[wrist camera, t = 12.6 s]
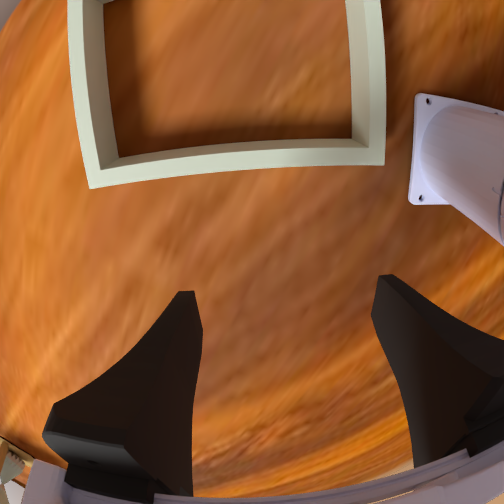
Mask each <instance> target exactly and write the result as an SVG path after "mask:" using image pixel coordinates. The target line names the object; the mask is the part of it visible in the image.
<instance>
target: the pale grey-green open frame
mask: <svg viewBox="0 0 504 504" xmlns="http://www.w3.org/2000/svg"><path fill="white" fill-rule="evenodd" d="M111 1H114V0H68V44H69V60H70V73H71V83H72V92H73V100H74V108H75V115H76V121H77V128H78V134H79V140H80V145H81V150H82V156H83V161H84V166H85V170H86V175H87V179H88V184H89V188H90V189H94V188H100V187H105V186H111V185H118V184H124V183H131V182H137V181H144V180H151V179H159V178H167V177H175V176H183V175H192V174H202V173H212V172H222V171H234V170H247V169H261V168H278V167H299V166H331V165H384V161H385V140H386V68H385V48H384V34H383V23H382V13H381V4H380V0H345V3H346V12H347V23H348V35H349V49H350V67H351V95H352V139H288V140H267V141H251V142H238V143H226V144H216V145H206V146H197V147H188V148H181V149H173V150H166V151H159V152H152V153H146V154H140V155H134V156H128V157H122V158H119V156H118V150H117V144H116V138H115V132H114V125H113V118H112V111H111V103H110V95H109V87H108V77H107V67H106V54H105V40H104V18H103V4H105V3H108V2H111Z"/></svg>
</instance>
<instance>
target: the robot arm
mask: <svg viewBox="0 0 504 504" xmlns="http://www.w3.org/2000/svg"><path fill="white" fill-rule="evenodd" d="M427 98H428V99H429V104H427V103H426V99H427ZM420 195H422V198H421V199H420V200H419V197H420ZM408 200H409V201H410V202H411V203H412V204H414V205H424V204H451V205H452V206H454V207H455V208H456V209H458V210H459V211H460V212H462V213H463V214H464V215H466V216H467V217H468V218H470V219H471V220H472V221H474V222H475V223H476V224H477V225H479V226H480V227H481V228H482V229H484V230H485V231H486V232H487V233H488V234H490V235H491V236H492V237H493V238H494V239H496V240H497V241H498V242H499V243H500V244H502V245H503V246H504V111H501V110H497V109H494V108H490V107H486V106H482V105H478V104H474V103H470V102H465V101H461V100H456V99H451V98H446V97H441V96H436V95H430V94H424V93H418V94H416V96H415V102H414V135H413V152H412V165H411V176H410V186H409V194H408ZM371 317H372V320H373V324H374V327H375V330H376V334H377V336H378V339H379V341H380V343H381V346H382V348H383V350H384V352H385V355H386V357H387V359H388V361H389V363H390V366H391V368H392V370H393V373H394V375H395V377H396V380H397V383H398V385H399V388H400V392H401V396H402V399H403V403H404V407H405V411H406V416H407V420H408V425H409V431H410V437H411V443H412V452H413V462H414V469H411V470H408V471H405V472H402V473H398V474H395V475H391V476H388V477H384V478H380V479H377V480H373V481H369V482H364V483H360V484H356V485H351V486H346V487H341V488H336V489H330V490H324V491H318V492H311V493H303V494H295V495H285V496H273V497H256V498H203V497H193V482H192V414H193V402H194V395H195V389H196V383H197V378H198V372H199V366H200V360H201V354H202V338H203V328H202V324H201V320H200V315H199V311H198V306H197V302H196V297H195V293H194V291H179V292H178V293H177V294H176V295H175V297H174V298H173V299H172V301H171V302H170V303H169V305H168V306H167V307H166V309H165V310H164V311H163V313H162V314H161V315H160V317H159V318H158V319H157V320H156V322H155V323H154V324H153V325H152V327H151V328H150V329H149V330H148V331H147V333H146V334H145V335H144V336H143V337H142V338H141V339H140V341H139V342H138V343H137V344H136V345H135V346H134V347H133V348H132V349H131V350H130V351H129V352H128V353H127V354H126V355H125V356H124V357H123V358H122V359H121V360H119V361H118V362H117V363H116V364H115V365H113V366H112V367H111V368H110V369H108V370H107V371H106V372H105V373H103V374H102V375H101V376H99V377H98V378H97V379H95V380H94V381H92V382H91V383H89V384H88V385H86V386H85V387H83V388H82V389H80V390H78V391H77V392H75V393H73V394H71V395H69V396H67V397H66V398H64V399H62V400H60V401H58V402H56V403H54V404H53V407H52V409H51V412H50V414H49V417H48V419H47V422H46V425H45V427H44V430H43V433H42V437H43V439H44V441H45V443H46V444H47V445H48V446H49V447H50V448H51V449H52V450H53V451H55V452H56V453H57V454H58V455H59V456H60V457H62V458H63V459H64V460H65V461H67V462H68V463H69V464H68V468H67V470H65V469H64V468H61V467H59V466H56V465H53V464H50V463H47V462H44V461H41V460H38V459H34V461H33V465H32V468H31V471H30V474H29V478H28V481H27V485H26V488H25V492H24V496H23V500H22V504H367V503H371V502H376V501H379V500H383V499H386V498H390V497H393V496H396V495H399V494H403V493H406V492H409V491H412V490H414V491H413V492H411V493H408V494H405V495H402V496H399V497H396V498H392V499H389V500H385V501H382V502H379V503H375V504H486V503H487V502H489V501H491V500H493V499H494V498H496V497H497V496H499V495H501V494H502V493H504V340H502V339H499V338H496V337H494V336H491V335H489V334H487V333H484V332H482V331H480V330H478V329H476V328H474V327H472V326H470V325H468V324H466V323H464V322H462V321H461V320H459V319H457V318H455V317H454V316H452V315H450V314H449V313H447V312H446V311H444V310H443V309H441V308H440V307H438V306H437V305H435V304H434V303H432V302H431V301H429V300H428V299H427V298H425V297H424V296H422V295H421V294H420V293H418V292H417V291H416V290H414V289H413V288H411V287H410V286H409V285H407V284H406V283H405V282H403V281H402V280H400V279H399V278H397V277H396V276H394V275H393V274H390V275H380V276H379V277H378V282H377V288H376V293H375V298H374V303H373V307H372V312H371Z"/></svg>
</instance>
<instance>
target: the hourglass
mask: <svg viewBox="0 0 504 504" xmlns="http://www.w3.org/2000/svg"><path fill="white" fill-rule="evenodd" d="M33 461H34V458H33V457H32V456H30V455H28V454H27V453H25V452H23V451H22V450H20V449H18V448H17V447H15V446H13V445H12V444H10V443H9V442H7V441H6V440H4V439H2V438H0V478H1V482H2V484H1V485H0V504H9V502H8V498H7V495H6V491H5V488H4V484H5V483H7V482H8V481H10V480H12V479H13V478H15V477H16V476H18V475H19V474H20V473H22V471H23V469H24V467H25V465H27V466H29V467H31V468H32V465H33ZM28 478H29V477H28ZM27 481H28V480H27ZM26 485H27V484H26ZM25 488H26V487H25ZM24 492H25V491H24ZM23 496H24V494H23ZM22 500H23V498H22ZM21 504H22V502H21Z"/></svg>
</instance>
